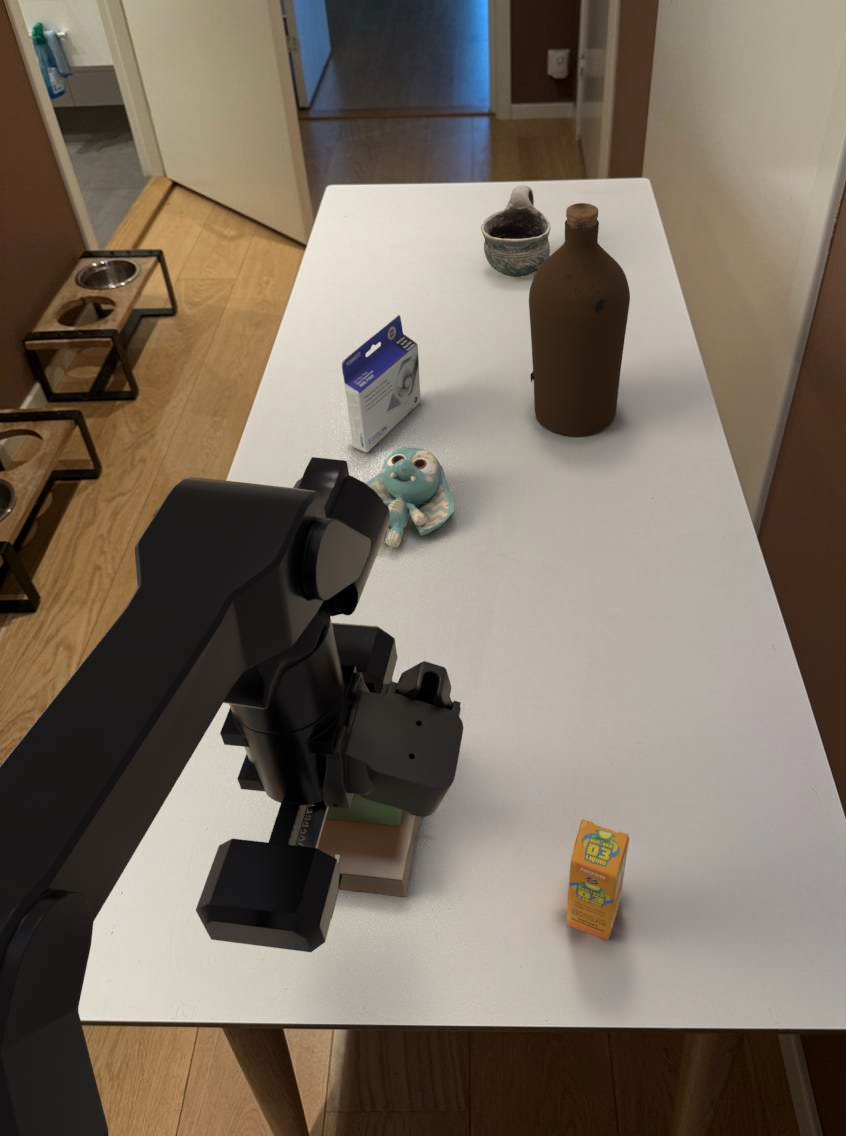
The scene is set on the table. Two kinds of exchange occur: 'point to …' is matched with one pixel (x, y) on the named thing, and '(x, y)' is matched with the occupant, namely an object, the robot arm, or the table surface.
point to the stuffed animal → (413, 492)
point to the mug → (517, 236)
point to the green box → (366, 812)
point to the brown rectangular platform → (372, 853)
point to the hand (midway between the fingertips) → (330, 843)
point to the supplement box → (596, 878)
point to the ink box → (381, 385)
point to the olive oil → (578, 330)
